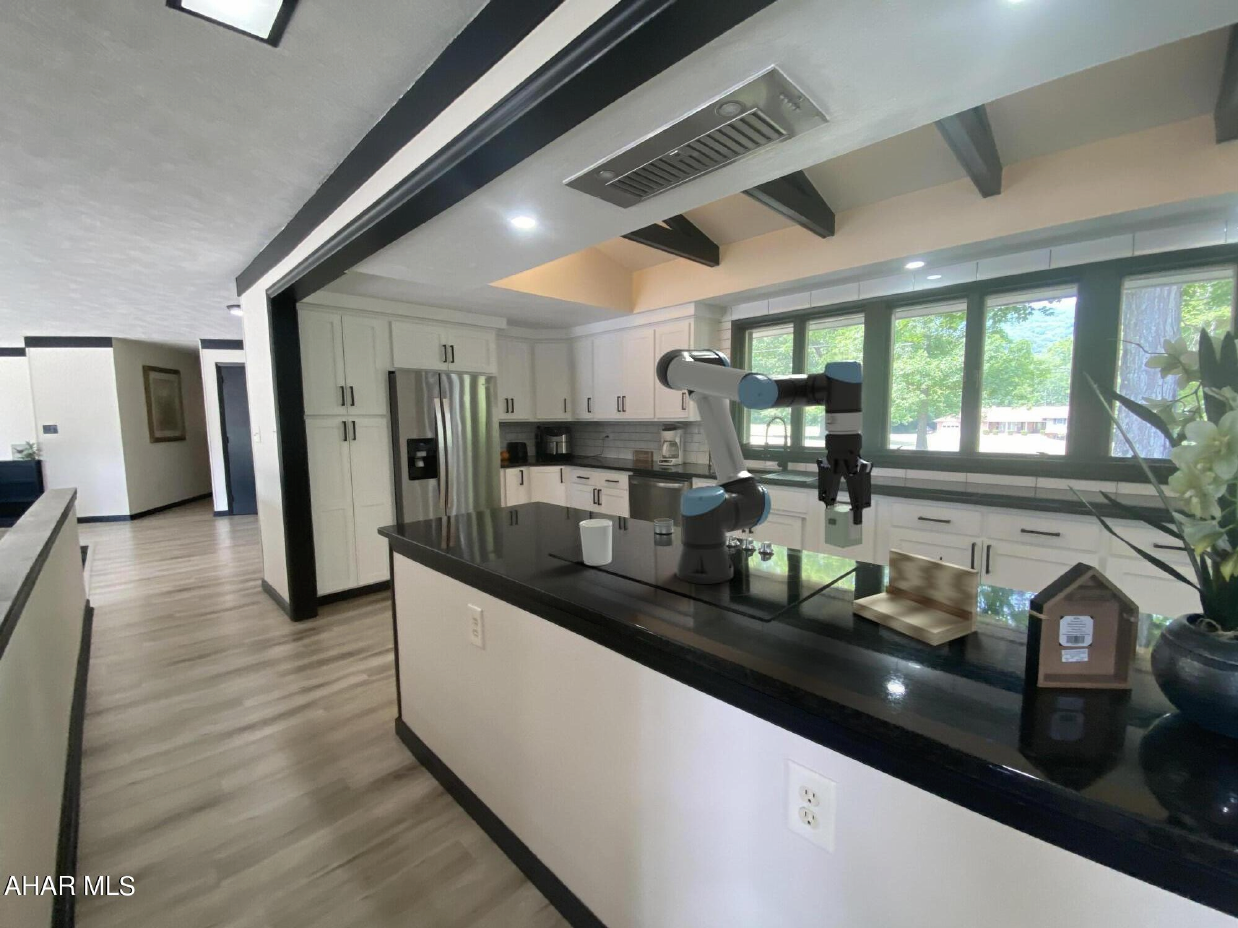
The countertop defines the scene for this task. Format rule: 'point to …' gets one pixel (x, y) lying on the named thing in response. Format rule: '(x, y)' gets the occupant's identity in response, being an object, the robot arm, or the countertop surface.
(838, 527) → the cabinet block
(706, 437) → the robot arm
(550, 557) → the countertop surface
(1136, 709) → the countertop surface
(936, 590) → the cleat board
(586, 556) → the candle holder
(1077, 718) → the countertop surface
